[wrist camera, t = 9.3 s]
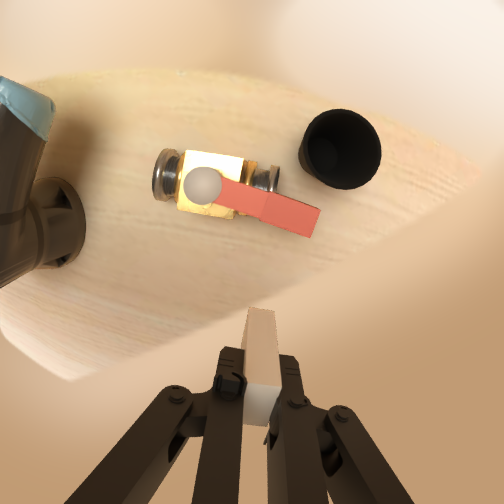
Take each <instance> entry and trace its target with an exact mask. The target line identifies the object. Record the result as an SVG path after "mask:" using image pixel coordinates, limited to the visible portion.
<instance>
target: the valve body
mask: <svg viewBox="0 0 504 504" xmlns="http://www.w3.org/2000/svg"><path fill="white" fill-rule="evenodd" d="M199 166H207V167H212V168H214V169H216V170H217V171H219V172H220V174H221V175H222V177H225V178H228V179H231V180H234V181H237V182H241V183H244V184H247V185H250V186H253V187H255V188H258V189H261V190H264V191H267V192H269V191H272V192H275V193H276V190H277V184H278V178H279V171H280V167H279V166H275V165H271V167H270V171H266V170H261V169H256V167H257V162H254V161H248V162H247V161H246V160H244V159H243V158H237V157H231V156H225V155H219V154H212V153H205V152H198V151H191V150H186V151H185V152H184V153H183V155H182V156H181V157H180V156H178V153H177V151H176V150H175V149H164V150H163V151H162V152H161V153H160V155H159V156H158V159H157V161H156V164H155V167H154V172H153V178H152V190H153V195H154V198H155V199H156V200H159V201H168V200H169V198H170V197H171V196H174V199H175V202H176V203H178V204H177V210H182V211H188V212H193V213H199V214H205V215H210V216H216V217H221V218H226V219H233V217H234V216H235V214H236V213H237V211H236V210H233V209H230V208H227V207H224V206H221V205H218V204H215V203H210V204H207V205H197V204H194V203H193V202H191V201H190V200H189V199H188V198H187V197H186V195H185V193H184V190H183V182H184V178H185V176H186V175H187V173H188V172H189V171H190V170H192V169H193V168H195V167H199ZM238 214H239V215H244V216H247V214H245V213H242V212H239V211H238Z"/></svg>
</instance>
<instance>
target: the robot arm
mask: <svg viewBox="0 0 504 504" xmlns="http://www.w3.org/2000/svg"><path fill="white" fill-rule="evenodd" d="M55 112H56V108H55V104H54V102H53V100H52V99H51V98H49V97H47V96H45V95H43V94H41V93H39V92H36V91H34V90H32V89H30V88H28V87H25V86H23V85H21V84H19V83H16V82H14V81H12V80H9V79H7V78H5V77H3V76H0V288H2V287H4V286H5V285H7V284H9V283H10V282H12V281H14V280H15V279H17V278H19V277H21V276H22V275H24V274H26V273H28V272H29V271H31V270H33V269H54V268H59V267H62V266H64V265H66V264H68V263H69V262H71V261H72V260H74V259H75V258H76V256H77V255H78V254H79V252H80V250H81V248H82V245H83V242H84V237H85V216H84V211H83V207H82V204H81V201H80V199H79V197H78V195H77V193H76V192H75V190H74V189H73V188H72V186H71V185H70V184H69V183H67V182H66V181H64V180H62V179H60V178H56V177H51V178H43V179H39V180H37V181H35V182H34V183H33V181H34V178H35V174H36V171H37V168H38V164H39V161H40V158H41V155H42V152H43V149H44V146H45V144H46V142H47V141H48V134H49V130H50V127H51V125H52V122H53V119H54V116H55ZM299 370H300V369H299V363H298V361H297V360H296V359H295V358H294V356H288V355H280V354H279V352H278V343H277V333H276V323H275V314H274V311H270V310H264V309H258V308H253V307H249V310H248V315H247V320H246V325H245V330H244V334H243V339H242V343H241V349H237V348H232V347H227V346H225V347H224V348H223V349H222V350H221V351H220V355H219V360H218V365H217V370H216V375H215V377H214V382H213V387H212V388H211V389H210V390H208V391H207V392H204V393H195V394H192V393H191V392H190V391H189V390H188V389H186V388H184V387H182V386H178V385H171V386H168V387H165V388H164V389H163V390H162V391H161V392H160V393H159V394H158V395H157V397H156V398H155V399H154V400H153V401H152V403H151V404H150V405H149V406H148V407H147V408H146V410H145V411H144V412H143V413H142V415H141V416H140V417H139V418H138V419H137V420H136V421H135V423H134V424H133V425H132V426H131V427H130V429H129V430H128V431H127V432H126V433H125V435H124V436H123V437H122V438H121V439H120V440H119V441H118V443H117V444H116V445H115V446H114V447H113V448H112V450H111V451H110V452H109V453H108V454H107V455H106V456H105V458H104V459H103V460H102V461H101V462H100V463H99V464H98V466H97V467H96V468H95V469H94V470H93V471H92V473H91V474H90V475H89V476H88V477H87V478H86V479H85V481H84V482H83V483H82V484H81V485H80V486H79V487H78V488H77V489H76V491H75V492H74V493H73V494H72V495H71V496H70V497H69V498H68V500H67V501H66V502H65V503H64V504H148V502H149V501H150V499H151V498H152V496H153V495H154V493H155V492H156V490H157V489H158V487H159V486H160V484H161V483H162V481H163V479H164V478H165V476H166V475H167V473H168V471H169V470H170V468H171V467H172V465H173V464H174V462H175V460H176V459H177V457H178V456H179V454H180V452H181V451H182V449H183V447H184V446H185V444H186V443H187V441H188V439H189V437H201V436H203V442H202V448H201V453H200V459H199V464H198V470H197V475H196V481H195V486H194V493H193V498H192V503H191V504H238V493H239V477H240V459H241V442H242V425H243V424H247V425H256V426H265V427H266V426H267V425H268V423H269V421H270V423H269V425H270V428H269V431H268V433H267V435H266V438H265V440H264V445H266V443H267V471H268V504H329V501H328V495H327V491H328V493H329V495H330V497H331V499H332V501H333V503H334V504H414V502H413V501H412V499H411V498H410V496H409V495H408V493H407V492H406V490H405V489H404V487H403V486H402V484H401V483H400V481H399V480H398V478H397V477H396V475H395V473H394V472H393V470H392V469H391V467H390V466H389V464H388V463H387V461H386V460H385V458H384V457H383V455H382V454H381V452H380V451H379V449H378V448H377V446H376V445H375V443H374V441H373V440H372V438H371V437H370V435H369V434H368V432H367V431H366V429H365V428H364V426H363V425H362V423H361V422H360V420H359V419H358V417H357V416H356V414H355V413H354V412H353V411H352V410H351V409H350V408H348V407H345V406H342V405H336V406H333V407H331V408H330V409H329V411H328V410H324V409H321V408H317V407H315V406H313V405H312V404H311V402H310V400H309V399H308V398H307V397H306V396H305V395H304V390H303V385H302V379H301V376H300V375H301V374H300V371H299Z"/></svg>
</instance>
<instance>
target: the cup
mask: <svg viewBox="0 0 504 504" xmlns="http://www.w3.org/2000/svg"><path fill="white" fill-rule="evenodd" d="M381 156H382V155H381V144H380V140H379V137H378V135H377V133H376V131H375V129H374V127H373V126H372V125H371V124H370V123H369V122H368V120H366V119H365V118H364V117H362V116H361V115H360V114H357V113H355V112H353V111H350V110H345V109H332V110H328V111H325V112H323V113H321V114H320V115H318V116H317V117H315V118H314V119H313V121H312V122H311V123H310V124H309V126H308V128H307V130H306V132H305V134H304V137H303V140H302V142H301V145H300V148H299V152H298V157H299V162H300V164H301V166H302V168H303V169H304V170H305V171H306V172H308V173H309V174H311V175H312V176H314V177H315V178H317V179H318V180H320V181H321V182H323V183H324V184H326V185H328V186H330V187H333V188H336V189H343V190H348V189H355V188H358V187H360V186H363V185H364V184H366V183H367V182H368V181H370V180H371V179H372V177H373V176H374V175H375V174H376V172H377V170H378V167H379V165H380V161H381Z"/></svg>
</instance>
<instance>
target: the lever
mask: <svg viewBox="0 0 504 504" xmlns="http://www.w3.org/2000/svg"><path fill="white" fill-rule="evenodd" d="M183 190H184V193H185V195H186V197H187V198H188V199H189V200H190V201H191V202H193V203H194V204H197V205H207V204H210V203H215V204H218V205H221V206H224V207H227V208H230V209H233V210H236V211H239V212H242V213H245V214H248V215H251V216H254V217H257V218H260V221H262V222H265V223H268V224H271V225H274V226H277V227H280V228H283V229H285V230H288V231H291V232H294V233H297V234H300V235H302V236H305V237H308V238H310V237H311V235H312V232H313V230H314V227H315V224H316V222H317V219H318V216H319V214H320V211H321V210H319V209H318V208H316V207H313V206H310V205H308V204H305V203H302V202H300V201H297V200H294V199H292V198H289V197H286V196H283V195H280V194H278V193H275V192H272V191H269V192H267V191H264V190H261V189H258V188H255V187H253V186H250V185H247V184H244V183H241V182H237V181H234V180H231V179H228V178H225V177H222V175H221V174H220V172H219V171H217V170H216V169H214V168H212V167H207V166H199V167H195V168H193V169H192V170H190V171H189V172H188V173H187V175H186V176H185V178H184V182H183Z"/></svg>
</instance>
